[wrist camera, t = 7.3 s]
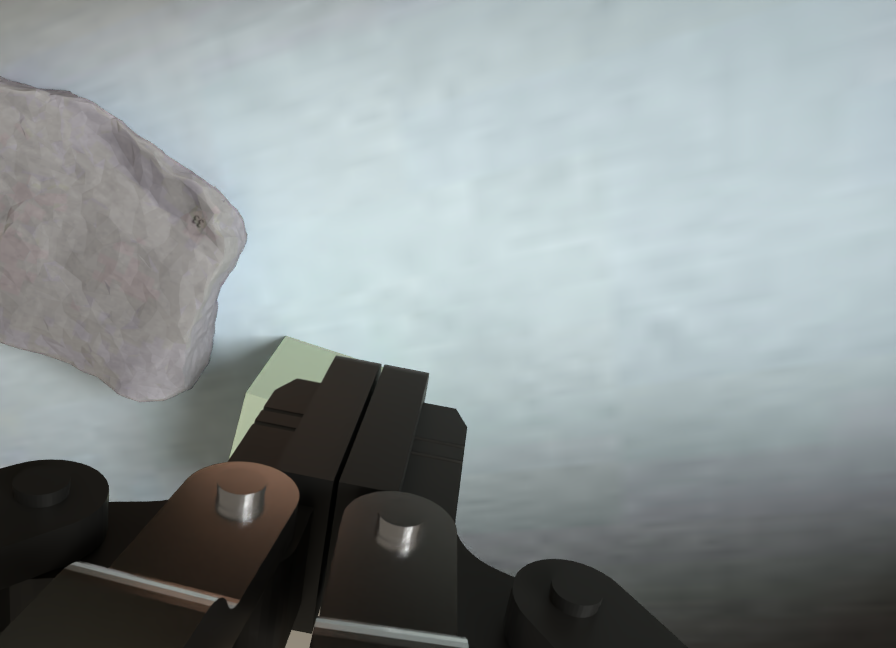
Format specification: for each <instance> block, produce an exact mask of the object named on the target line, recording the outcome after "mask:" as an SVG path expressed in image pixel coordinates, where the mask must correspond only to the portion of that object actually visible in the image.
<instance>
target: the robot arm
mask: <svg viewBox="0 0 896 648" xmlns="http://www.w3.org/2000/svg"><path fill="white" fill-rule="evenodd" d="M381 367H382V366H381V364H379V363H374V362H369V361H364V360H358V359H353V358H348V357H343V356H338V355H336V356H335V358H334V360H333V361H332V363H331V365H330V367H329V369H328V371H327V372H326V374H325V376H324V378H323V380H322V382H321V383H319V382H314V381H309V380H304V379H298V378H297V379H295V380H293V381H291V382H289V383H287V384H285V385H283V386H281V387H279V388H277V389H276V390H274V392H273V393H272V395H271V396H270V398H269V399H268V401H267V402H266V404H265V405H264V408H263V410H261V411H260V413H259V415H258V416H257V418H256V419H255V422H254V424H252V425H251V427H250V428H249V430H248V431H247V433H246V434H245V436H244V437H243V439H242V440H241V442H240V444H239V445H238V447H237V448H236V450H235V451H234V453H233V454H232V456H231V457H230V459H229V460H228V462H224V463H219V464H214V465H211V466H208V467H205V468H203V469H201V470H198V471H197V472H195V473H194V474H192V475H191V476H190V477H189V478H188V479H187V480H186V481H185V482H184V483H183V484H182V485H181V486H180V487H179V489H178V490H177V491H176V492H175V493H174V494H173V495H172V497H171V498H170V499H169V500H163V501H149V502H109V485H108V482H107V480H106V479H105V477H104V476H103V475H102V474H101V473H100V472H98V471H97V470H95V469H94V468H92V467H90V466H87V465H84V464H82V463H77V462H73V461H66V460H37V461H29V462H24V463H20V464H16V465H12V466H8V467H4V468H1V469H0V648H285V646H286V643H287V640H288V637H289V635H290V632H291V630H295V631H300V632H306V633H310V634H311V633H312V631H313V634H312V639H311V643H310V648H688V647H687V646H686V645H684V644H683V643H682V642H681V641H680V640H679V639H678V638H677V637H676V636H675V635H673V634H672V633H671V632H670V631H669V630H668V629H667V628H666V627H665V626H664V625H662V624H661V623H660V622H659V621H658V620H657V619H656V618H655V617H654V616H653V615H651V614H650V613H649V612H648V611H647V610H646V609H645V608H644V607H643V606H642V605H640V604H639V603H638V602H637V601H636V600H635V599H634V598H633V597H632V596H631V595H629V594H628V593H627V592H626V591H625V590H624V589H623V588H622V587H621V586H619V585H618V584H617V583H616V582H615V581H613V580H612V579H611V578H610V577H608V576H606V575H605V574H603V573H602V572H600V571H598V570H596V569H594V568H592V567H589V566H586V565H584V564H581V563H577V562H574V561H568V560H562V559H546V560H540V561H535V562H533V563H530V564H528V565H526V566H525V567H523V568H522V569H521V570H520V571H519V572H518V573H517V574H516V576H515V577H512V576H510V575H508V574H506V573H503V572H501V571H499V570H497V569H495V568H493V567H490V566H488V565H487V564H485V563H484V562H482V561H480V560H479V559H478V558H476V557H475V556H474V555H473V554H471V553H470V552H469V551H468V549H467V548H466V547H465V546H464V545H463V543H462V542H461V541H460V539H459V537H458V535H457V530H456V525H455V519H456V511H457V503H458V496H459V488H460V480H461V472H462V463H463V456H464V447H465V440H466V432H467V426H466V425H465V423H464V421H463V420H462V418H461V416H460V415H459V413H458V411H457V410H456V409H454V408H448V407H443V406H438V405H433V404H428V403H424V401H425V396H426V390H427V385H428V379H429V373H426V372H421V371H416V370H411V369H406V368H400V367H395V366H390V365H384V367H383V369H382V372H381ZM320 607H321V609H320ZM319 610H320V616H318V613H319ZM314 625H315V626H314ZM313 628H314V630H313Z"/></svg>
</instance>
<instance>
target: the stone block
mask: <svg viewBox="0 0 896 648" xmlns="http://www.w3.org/2000/svg"><path fill="white" fill-rule="evenodd" d="M246 241H247V233H246V230H245V225H244V221H243V218H242V216H241V215H240V213H239V212H238V210H237V209H236V208H235V207H233V206H232V205H231V204H230V202H229V201H228V200H227V199H226V198H225V196H224V195H223V194H222V193H221V192H220V191H219V190H218V189H217V188H216V187H213V186H212V185H210V184H209V183H208V182H206V181H205V180H204V179H202V178H201V177H199V176H198V175H196V174H195V173H193V172H192V171H191V170H189V169H187V168H185V167H184V166H182V165H181V164H179V163H178V162H176V161H175V160H173V159H172V158H170V157H168V156H167V155H166V154H165V153H164V152H163V151H162V150H160V149H159V148H158V147H157V146H156V145H154V144H153V143H151V142H150V141H148V140H145V139H143V138H142V137H140V136H138V135H137V134H136V133H135V132H133V131H132V130H131V129H130V128H129V127H128V126H127V125H126V124H125V123H124V122H123V121H122V120H120V119H118V118H116V117H115V116H113V115H112V114H110V113H108V112H107V111H105V110H104V109H103V108H101V107H100V106H98V105H97V104H95V103H94V102H92V101H90V100H88V99H85V98H82V97H78V96H77V95H75V94H72V93H71V92H70V91H60V90H46V89H37V88H35V87H32V86H29V85H26V84H21V83H18V82H14V81H9V80H7V79H5V78H3V77H1V76H0V342H1V343H4V344H7V345H10V346H13V347H16V348H19V349H23V350H28V351H32V352H36V353H40V354H43V355H46V356H50V357H53V358H56V359H58V360H61V361H64V362H66V363H69V364H71V365H73V366H74V367H76V368H77V369H79V370H81V371H83V372H85V373H88V374H91V375H94V376H97V377H98V378H99V379H100V380H102V381H103V382H104V383H105V384H107V385H108V386H109V387H110V388H112V389H113V390H114V391H115V392H116V393H117V394H119V395H121V396H123V397H126V398H129V399H132V400H135V401H138V402H149V401H164V400H167V399H169V398H172V397H174V396H176V395H178V394H180V393H182V392H184V391H186V390H189V389H191V388H192V387H193V386H194V384H195V383H196V382H197V380H198V379H199V377H200V375H201V374H202V372H203V370H204V369H205V368H206V366H207V365H208V364H209V361H210V357H211V353H212V348H213V337H214V333H215V321H216V317H217V310H218V302H217V298H218V295H219V292H220V288H221V286H222V285H223V284H224V282H225V280H226V279H227V277H228V275H229V274H230V273H231V272H232V270H233V269H234V268H235V266H236V264H237V261H238V259H239V256H240V254H241V253H242V251H243V249H244V247H245V244H246Z"/></svg>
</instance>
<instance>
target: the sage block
mask: <svg viewBox="0 0 896 648" xmlns="http://www.w3.org/2000/svg"><path fill="white" fill-rule="evenodd" d="M336 355H338V356H343V357H348V358H352V357H349V356H346V355H343V354H340V353H337V352H334V351H331V350H328V349H325V348H322V347H319V346H316V345H312V344H309V343H306V342H303V341H300V340H297V339H294V338H291V337H288V336H285V338H284V339H283V341H282V342H281V343H280V345H279V346H278V348H277V349H276V351H275V352H274V353H273V355H272V356H271V358H270V359H269V361H268V362H267V363H266V365H265V366H264V368H263V369H262V371H261V372H260V373H259V375H258V376H257V378H256V379H255V381H254V382H253V383H252V385H251V386H250V388H249V389H248V391H247V392H246V395H245V399H244V403H243V406H242V410H241V414H240V418H239V422H238V426H237V430H236V434H235V438H234V441H233V445H232V449H231V453H230V457H231V456H232V454H233V453H234V451H235V450H236V448H237V447H238V445H239V444H240V442H241V440H242V439H243V437H244V436H245V434H246V433H247V431H248V430H249V428H250V427H251V425H252V424H254V422H255V419H256V418H257V416H258V415H259V413H260V411H261V410H263V408H264V405H265V404H266V402H267V401H268V399H269V398H270V396H271V395H272V393H273V392H274V390H276V389H277V388H279V387H281V386H283V385H285V384H287V383H289V382H291V381H293V380H295V379H297V378H298V379H304V380H309V381H314V382H319V383H321V382H322V380H323V378H324V376H325V374H326V372H327V371H328V369H329V367H330V365H331V363H332V361H333V360H334V358H335V356H336ZM353 359H355V358H353ZM382 369H383V367H381V372H382ZM230 457H229V459H230Z"/></svg>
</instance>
